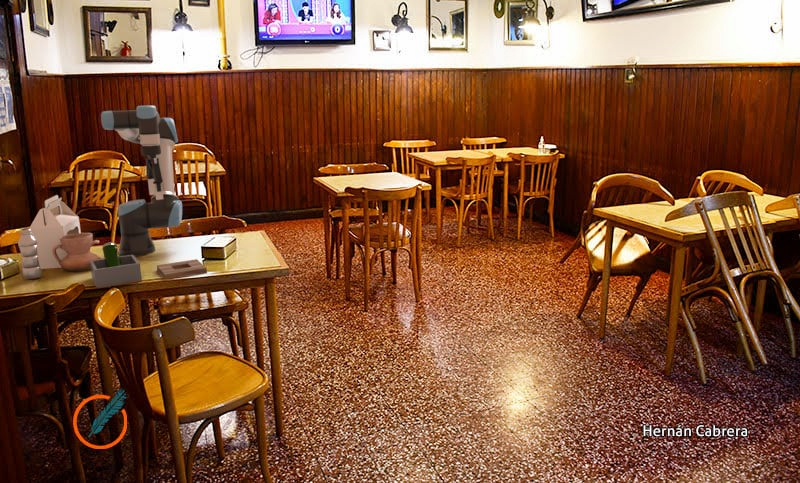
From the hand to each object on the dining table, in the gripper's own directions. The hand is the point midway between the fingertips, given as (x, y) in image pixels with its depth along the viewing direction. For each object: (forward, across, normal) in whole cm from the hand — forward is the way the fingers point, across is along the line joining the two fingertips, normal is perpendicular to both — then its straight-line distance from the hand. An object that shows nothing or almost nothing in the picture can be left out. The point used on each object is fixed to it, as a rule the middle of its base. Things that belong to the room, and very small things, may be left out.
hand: (156, 197), depth 270 cm
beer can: (+26, +13, -20) cm, 35 cm away
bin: (+28, +13, -20) cm, 37 cm away
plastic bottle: (+29, -8, -48) cm, 57 cm away
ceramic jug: (+29, -13, -31) cm, 44 cm away
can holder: (+28, +16, +4) cm, 33 cm away
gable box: (+29, -31, -37) cm, 56 cm away
